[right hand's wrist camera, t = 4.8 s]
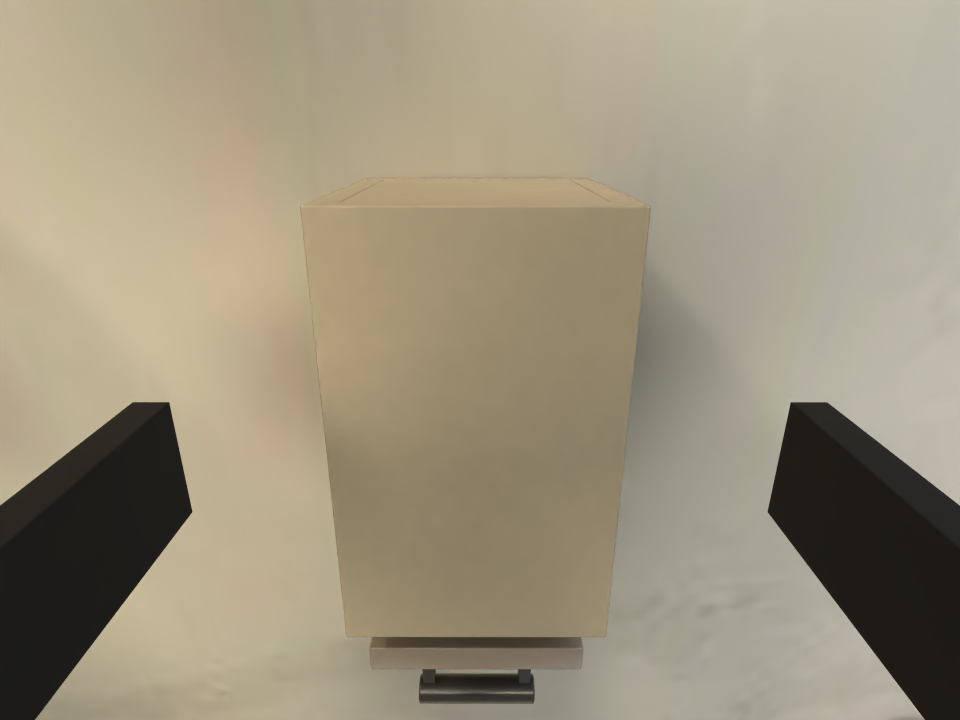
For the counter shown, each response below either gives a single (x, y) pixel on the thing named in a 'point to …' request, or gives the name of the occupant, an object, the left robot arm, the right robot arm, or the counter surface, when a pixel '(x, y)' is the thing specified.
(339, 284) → the cabinet
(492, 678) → the drawer
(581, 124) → the counter surface
